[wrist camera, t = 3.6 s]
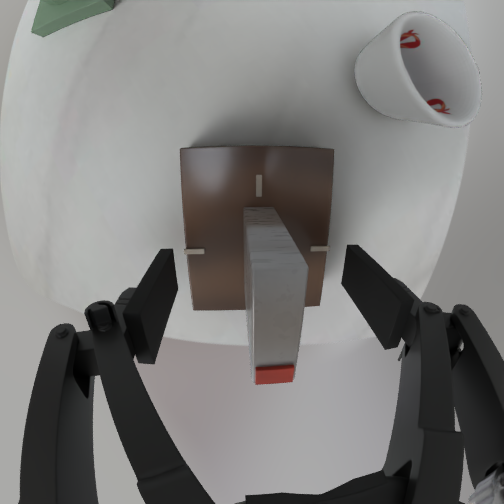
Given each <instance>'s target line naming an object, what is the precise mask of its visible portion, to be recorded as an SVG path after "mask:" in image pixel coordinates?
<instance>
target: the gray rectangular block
mask: <svg viewBox="0 0 504 504" xmlns="http://www.w3.org/2000/svg"><path fill="white" fill-rule="evenodd" d="M243 216H244V290H245V303H246V316H247V329H248V342H249V354H250V366H251V378H252V382H253V383H255V384H256V385H258V384H274V383H286V382H292V381H293V380H294V377H295V370H296V363H297V357H298V351H299V344H300V337H301V330H302V322H303V314H304V306H305V298H306V289H307V279H308V270H309V267H308V265H307V263H306V262H305V260H304V258H303V256H302V255H301V253H300V251H299V249H298V248H297V246H296V244H295V242H294V241H293V239H292V237H291V236H290V234H289V232H288V230H287V229H286V227H285V225H284V224H283V222H282V220H281V219H280V217H279V215H278V214H277V212H276V210H275V209H274V207H245V208H244V209H243Z"/></svg>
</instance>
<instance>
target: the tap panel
mask: <svg viewBox="0 0 504 504" xmlns="http://www.w3.org/2000/svg"><path fill="white" fill-rule="evenodd" d="M180 166H181V187H182V204H183V218H184V231H185V243H186V249H184V254H187V263H188V272H189V281H190V290H191V298H192V305H193V310H246V303H245V290H244V216H243V209H244V208H245V207H274V209H275V210H276V212H277V214H278V215H279V217H280V219H281V220H282V222H283V224H284V225H285V227H286V229H287V230H288V232H289V234H290V236H291V237H292V239H293V241H294V242H295V244H296V246H297V248H298V249H299V251H300V253H301V255H302V256H303V258H304V260H305V262H306V263H307V265H308V267H309V270H308V279H307V289H306V298H305V306H304V307H310V306H320V300H321V293H322V286H323V279H324V271H325V263H326V254H327V251H329V249H330V246H327V245H328V235H329V225H330V213H331V201H332V186H333V167H334V149H327V148H314V147H296V146H261V145H241V146H207V147H189V148H181V149H180Z"/></svg>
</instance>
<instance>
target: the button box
mask: <svg viewBox="0 0 504 504" xmlns="http://www.w3.org/2000/svg"><path fill="white" fill-rule="evenodd" d="M114 1H115V0H40V3H39V6H38V9H37V13H36V16H35V20H34V23H33V27H32V31H31V33H34V34H37V35H39V36H42V37H45V36H47V35H49V34H51V33H53V32H55V31H57V30H59V29H61V28H64V27H66V26H68V25H71V24H73V23H75V22H78V21H80V20H83V19H86V18H88V17H91V16H94V15H97V14H100V13H103V12H106V11H109V10H112V9H113V6H114Z"/></svg>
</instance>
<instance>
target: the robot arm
mask: <svg viewBox="0 0 504 504" xmlns="http://www.w3.org/2000/svg"><path fill="white" fill-rule="evenodd" d="M341 284H342V286H343V287H344V289H345V290H346V291H347V293H348V294H349V296H350V297H351V299H352V300H353V302H354V303H355V305H356V306H357V308H358V309H359V311H360V312H361V314H362V315H363V317H364V318H365V320H366V321H367V323H368V324H369V326H370V327H371V329H372V330H373V332H374V333H375V335H376V336H377V338H378V340H379V341H380V343H381V344H382V346H383V347H384V349H385V350H386V349H391V348H396V347H398V345H399V342H400V340H401V337H402V339H403V340H404V341H405V344H404V347H403V349H402V352H401V354H400V356H399V358H398V361H400V359H401V358H402V365H401V376H400V385H399V393H398V400H397V407H396V414H395V419H394V425H393V430H392V435H391V440H390V445H389V450H388V454H387V458H386V461H385V464H384V467H383V468H382V470H381V471H378V472H376V473H372V474H369V475H365V476H362V477H359V478H355V479H352V480H351V481H349V482H347V483H345V484H343V485H341V486H339V487H337V488H335V489H333V490H330V491H328V492H326V493H323V494H319V495H313V494H293V493H274V494H262V495H246V496H245V497H246V501H243V502H239V503H235V504H465V503H462V502H460V501H459V497H460V490H461V481H462V472H463V458H464V448H465V453H466V459H467V465H468V470H469V475H470V478H471V481H472V484H473V487H474V489H475V492H474V493H473V494H472V495H471V496H470V498H469V504H504V361H503V359H502V357H501V355H500V353H499V352H498V350H497V348H496V346H495V345H494V343H493V341H492V340H491V338H490V336H489V335H488V333H487V331H486V330H485V328H484V327H483V325H482V323H481V322H480V320H479V319H478V317H477V316H476V314H475V313H474V311H473V310H472V309H471V308H469V307H468V306H465V305H461V304H458V305H455V306H454V308H453V311H452V313H444V312H442V310H441V308H440V307H439V306H437V305H435V304H433V303H430V302H422V301H421V300H420V299H419V298H418V297H417V296H416V295H415V294H414V293H413V292H411V290H410V289H409V288H407V286H406V285H405V284H404V283H403V282H401V281H399V280H398V279H396V278H392V277H391V276H390V275H389V274H388V273H387V272H386V271H385V270H384V269H383V268H382V267H381V266H380V265H379V264H378V263H377V262H376V261H375V260H374V259H373V258H372V257H371V256H370V255H368V254H367V253H366V252H365V251H364V250H363V249H362V248H361V247H360V246H359V245H347V249H346V256H345V263H344V270H343V276H342V282H341ZM177 291H178V284H177V277H176V270H175V262H174V253H173V249H160V251H159V252H158V254H157V256H156V257H155V259H154V260H153V262H152V264H151V265H150V267H149V268H148V270H147V272H146V273H145V275H144V277H143V278H142V280H141V282H140V283H139V285H138V287H137V288H128V289H126V290H125V291H124V292H122V294H121V295H120V297H119V298H118V300H117V301H116V303H115V305H114V304H113V303H112V302H110V301H97V302H95V303H92V304H91V305H89V306H88V307H87V308H86V309H85V313H84V314H85V316H86V319H87V321H88V325H89V327H90V330H89V331H82V332H76V330H75V328H74V326H73V325H71V324H60V325H58V326H56V327H55V328H53V329H52V330H51V332H50V334H49V336H48V339H47V342H46V345H45V348H44V351H43V354H42V357H41V361H40V364H39V367H38V371H37V374H36V378H35V382H34V386H33V390H32V394H31V399H30V403H29V408H28V414H27V419H26V425H25V431H24V438H23V446H22V456H21V470H20V472H21V473H20V500H19V503H18V504H98V497H97V491H96V481H95V470H94V455H93V394H94V379H95V376H97V375H100V377H101V380H102V384H103V388H104V391H105V395H106V398H107V402H108V405H109V408H110V411H111V414H112V417H113V420H114V423H115V426H116V429H117V432H118V434H119V437H120V440H121V442H122V445H123V447H124V450H125V452H126V454H127V457H128V459H129V461H130V463H131V466H132V468H133V470H134V472H135V475H136V477H137V480H138V482H137V486H138V489H139V492H140V494H141V496H142V498H143V500H144V502H145V503H146V504H215V503H214V502H213V500H212V499H211V497H210V496H209V495H208V493H207V492H206V491H205V490H204V488H203V487H202V485H201V484H200V482H199V481H198V479H197V478H196V476H195V475H194V474H193V472H192V471H191V469H190V468H189V466H188V465H187V464H186V462H185V461H184V459H183V457H182V456H181V454H180V453H179V451H178V449H177V448H176V446H175V444H174V442H173V441H172V439H171V437H170V435H169V434H168V432H167V431H166V428H165V426H164V425H163V423H162V421H161V419H160V417H159V415H158V413H157V411H156V409H155V407H154V405H153V403H152V401H151V399H150V397H149V395H148V393H147V391H146V388H145V386H144V384H143V382H142V379H141V377H140V375H139V373H138V371H137V368H136V366H135V363H134V361H133V359H134V356H135V355H136V357H137V360H138V363H143V364H155V360H156V357H157V354H158V350H159V347H160V344H161V340H162V337H163V334H164V331H165V328H166V324H167V321H168V318H169V315H170V312H171V309H172V306H173V303H174V300H175V297H176V294H177ZM462 343H464V348H463V350H462V351H461V349H460V346H461V344H462ZM454 407H455V410H456V414H457V417H458V422H459V426H460V429H461V432H456V431H455V419H454V418H455V415H454V414H455V412H454Z"/></svg>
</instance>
